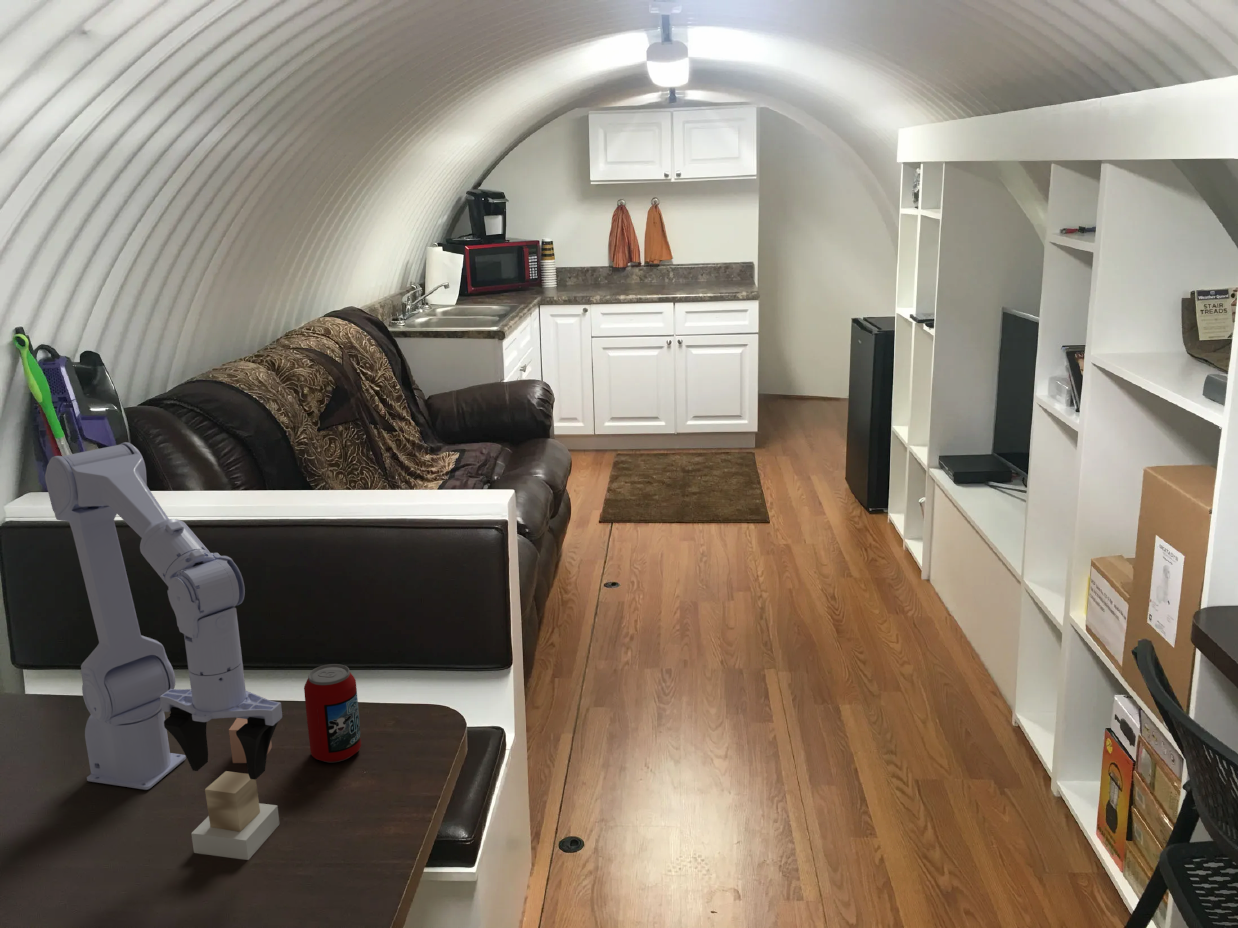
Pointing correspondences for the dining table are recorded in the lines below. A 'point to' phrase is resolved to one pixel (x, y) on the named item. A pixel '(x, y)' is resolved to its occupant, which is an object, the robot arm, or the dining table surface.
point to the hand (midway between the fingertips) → (228, 770)
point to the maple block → (232, 801)
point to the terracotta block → (238, 742)
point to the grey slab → (236, 836)
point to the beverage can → (332, 713)
